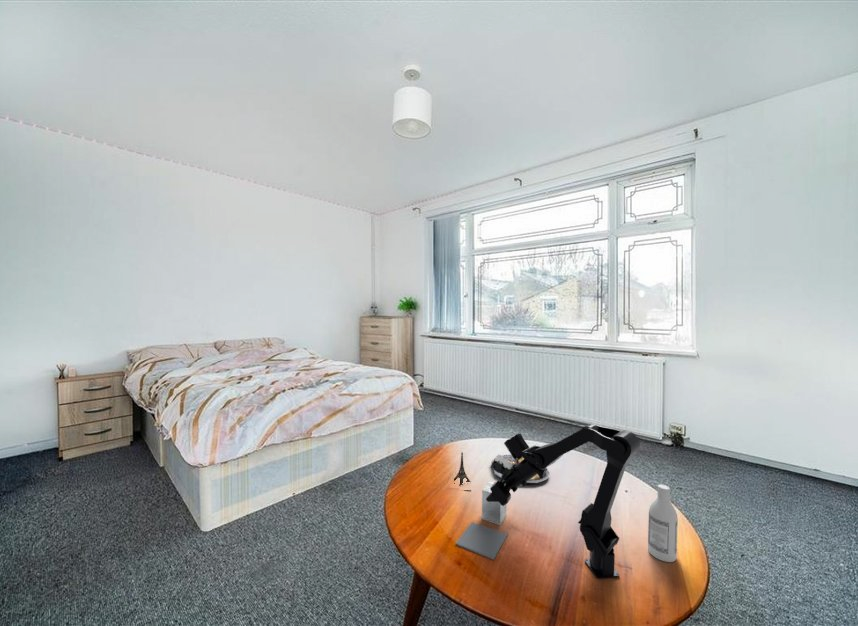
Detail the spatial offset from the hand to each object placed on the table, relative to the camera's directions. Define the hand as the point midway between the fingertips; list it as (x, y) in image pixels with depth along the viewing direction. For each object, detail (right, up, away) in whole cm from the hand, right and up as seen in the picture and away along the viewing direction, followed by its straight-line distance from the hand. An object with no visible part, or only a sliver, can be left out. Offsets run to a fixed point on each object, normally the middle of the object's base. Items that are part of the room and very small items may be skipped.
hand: (490, 495), depth 118 cm
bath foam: (+47, -8, -17) cm, 51 cm away
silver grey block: (+1, -7, -1) cm, 7 cm away
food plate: (+18, -7, +32) cm, 38 cm away
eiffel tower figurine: (-8, -7, +24) cm, 26 cm away
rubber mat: (-5, -7, -12) cm, 15 cm away
